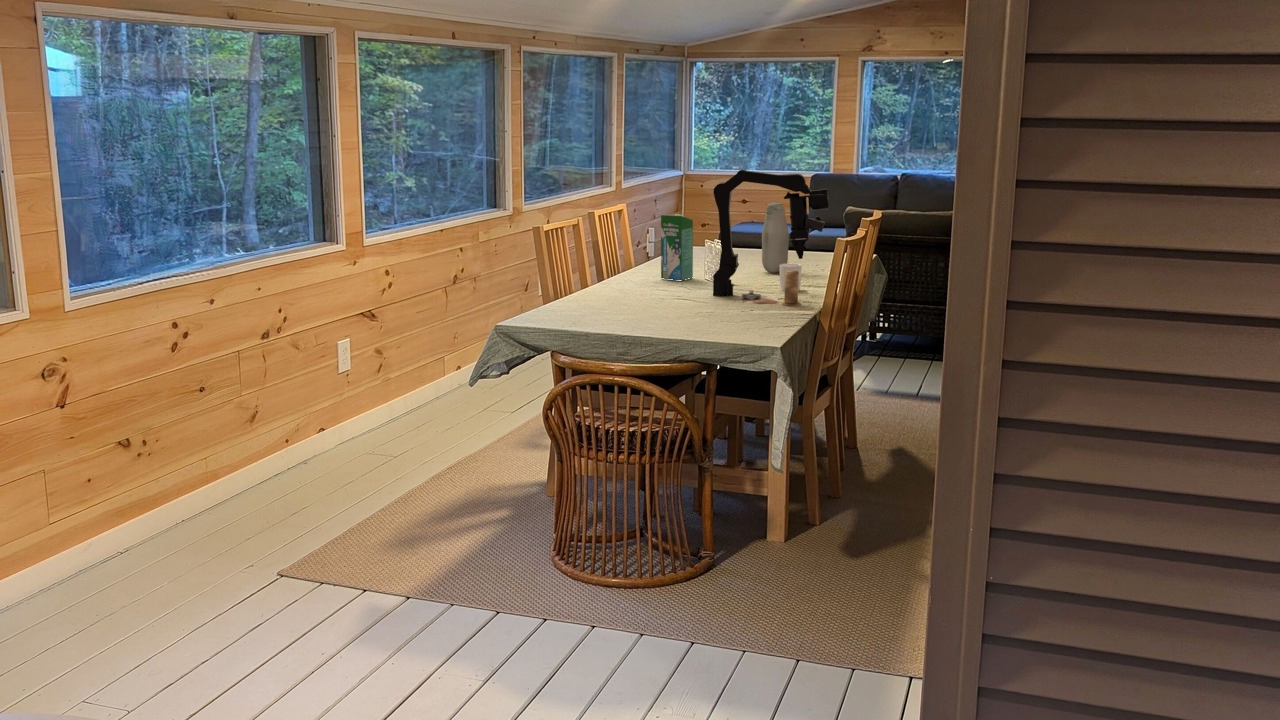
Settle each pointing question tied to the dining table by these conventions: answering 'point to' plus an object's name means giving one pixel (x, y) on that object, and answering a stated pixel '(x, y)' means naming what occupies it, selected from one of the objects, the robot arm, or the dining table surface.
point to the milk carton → (676, 247)
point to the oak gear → (791, 289)
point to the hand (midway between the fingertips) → (801, 257)
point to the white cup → (789, 268)
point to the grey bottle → (775, 238)
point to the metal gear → (751, 296)
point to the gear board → (762, 301)
